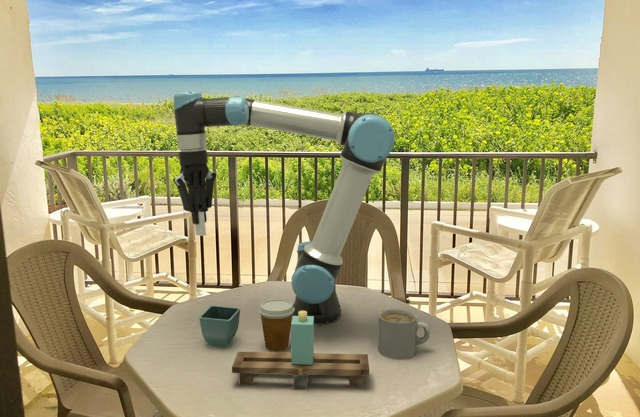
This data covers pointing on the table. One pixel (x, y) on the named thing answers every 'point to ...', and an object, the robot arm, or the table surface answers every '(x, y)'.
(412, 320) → the coffee mug
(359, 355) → the brown flat slatted piece
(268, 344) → the disposable coffee cup
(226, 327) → the flower pot
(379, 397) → the table surface
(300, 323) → the block
